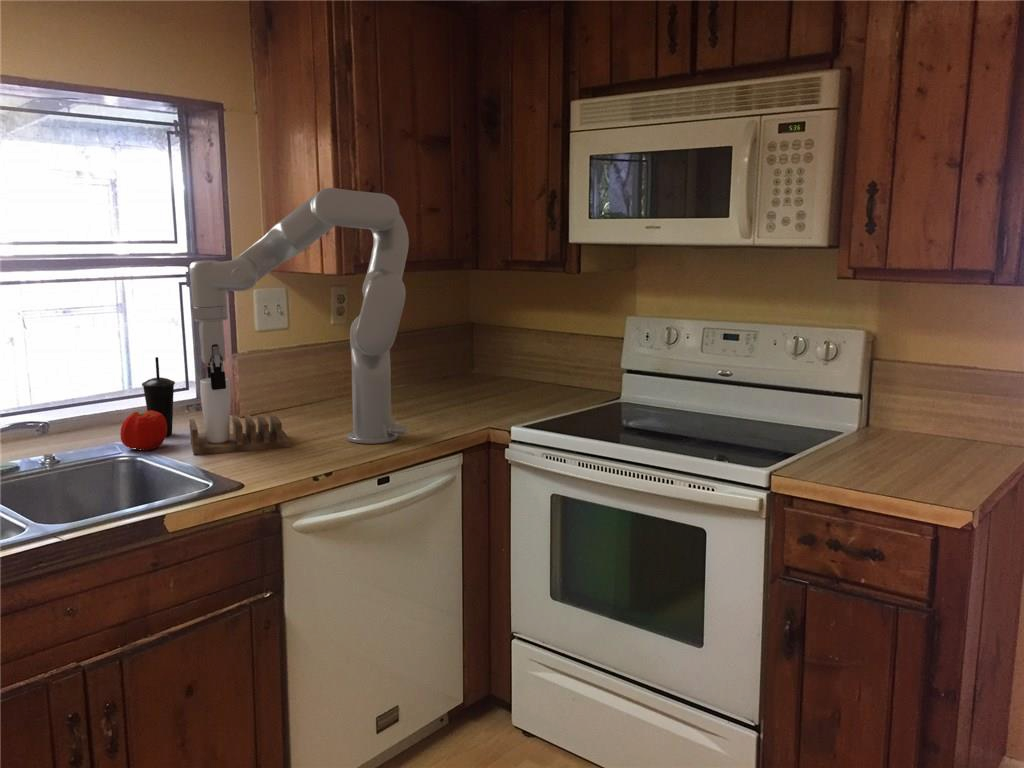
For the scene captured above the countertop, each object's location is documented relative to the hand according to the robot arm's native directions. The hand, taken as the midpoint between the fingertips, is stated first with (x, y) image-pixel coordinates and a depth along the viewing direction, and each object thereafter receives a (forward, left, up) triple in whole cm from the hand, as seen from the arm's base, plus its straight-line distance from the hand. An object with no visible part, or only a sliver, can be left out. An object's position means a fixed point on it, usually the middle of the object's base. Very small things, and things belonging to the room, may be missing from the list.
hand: (217, 385), depth 203 cm
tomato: (+16, +6, -15) cm, 23 cm away
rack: (-4, -3, -15) cm, 16 cm away
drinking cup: (+20, -6, -15) cm, 26 cm away
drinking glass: (0, +1, -14) cm, 14 cm away
